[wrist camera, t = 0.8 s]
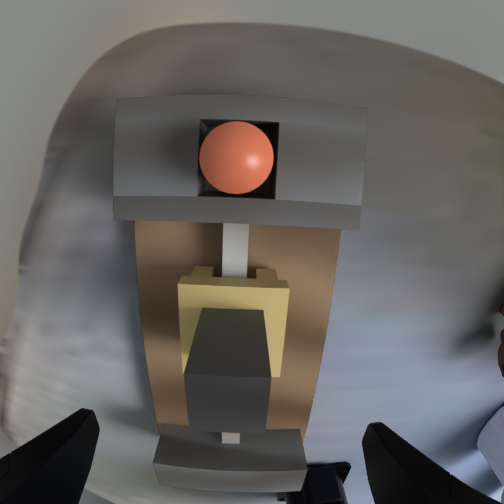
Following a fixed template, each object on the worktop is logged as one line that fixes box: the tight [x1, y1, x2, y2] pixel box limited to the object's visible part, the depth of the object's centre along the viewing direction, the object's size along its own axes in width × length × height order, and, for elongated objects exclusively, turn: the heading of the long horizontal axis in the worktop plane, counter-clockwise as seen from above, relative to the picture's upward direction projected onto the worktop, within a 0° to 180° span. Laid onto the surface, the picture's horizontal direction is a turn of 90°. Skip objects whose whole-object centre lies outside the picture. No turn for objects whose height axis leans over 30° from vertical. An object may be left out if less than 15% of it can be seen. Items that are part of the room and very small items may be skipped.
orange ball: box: [199, 121, 273, 194], centre depth 11 cm, size 2×2×2 cm
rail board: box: [113, 94, 367, 492], centre depth 17 cm, size 24×11×6 cm, turn 177°
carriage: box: [178, 266, 290, 434], centre depth 14 cm, size 5×5×8 cm
